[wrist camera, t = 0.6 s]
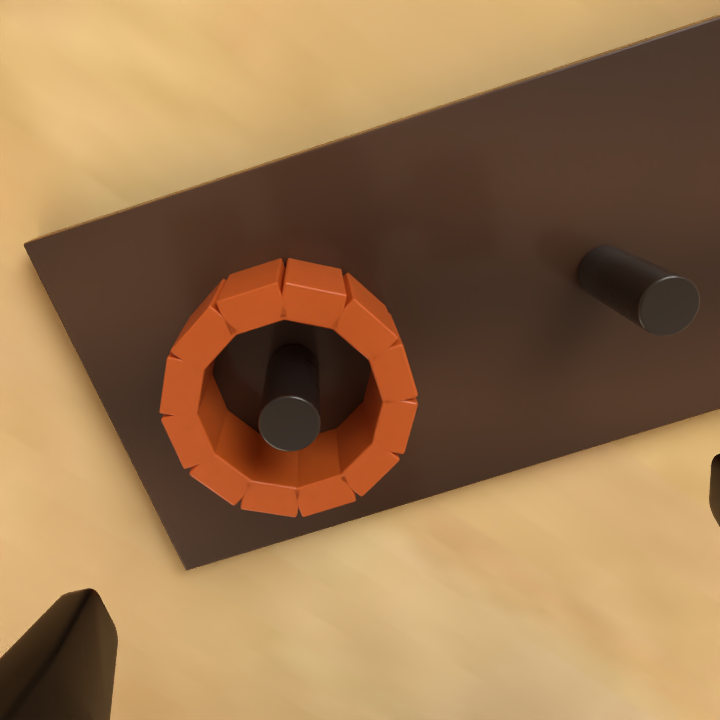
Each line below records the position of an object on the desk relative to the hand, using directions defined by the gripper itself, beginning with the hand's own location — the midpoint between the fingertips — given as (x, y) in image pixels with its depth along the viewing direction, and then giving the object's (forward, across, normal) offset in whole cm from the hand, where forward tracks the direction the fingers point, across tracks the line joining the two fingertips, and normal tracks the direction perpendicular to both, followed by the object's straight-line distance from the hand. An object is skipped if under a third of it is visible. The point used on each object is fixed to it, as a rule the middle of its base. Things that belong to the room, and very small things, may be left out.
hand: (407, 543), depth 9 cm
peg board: (+12, -3, +2) cm, 13 cm away
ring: (+11, +2, +2) cm, 12 cm away
